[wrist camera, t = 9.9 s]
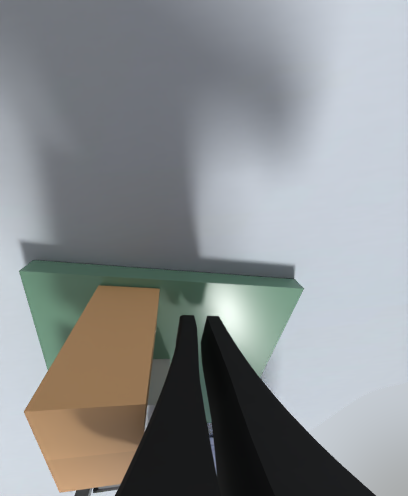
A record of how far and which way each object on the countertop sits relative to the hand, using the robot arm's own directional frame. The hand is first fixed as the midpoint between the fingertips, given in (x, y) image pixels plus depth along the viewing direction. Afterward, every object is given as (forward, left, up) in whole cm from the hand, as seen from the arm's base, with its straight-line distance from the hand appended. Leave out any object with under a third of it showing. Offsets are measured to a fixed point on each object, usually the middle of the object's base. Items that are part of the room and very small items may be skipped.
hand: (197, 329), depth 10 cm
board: (-6, +1, -2) cm, 7 cm away
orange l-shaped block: (-1, +4, -1) cm, 4 cm away
